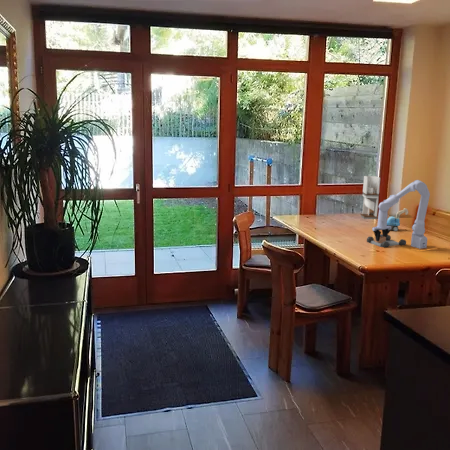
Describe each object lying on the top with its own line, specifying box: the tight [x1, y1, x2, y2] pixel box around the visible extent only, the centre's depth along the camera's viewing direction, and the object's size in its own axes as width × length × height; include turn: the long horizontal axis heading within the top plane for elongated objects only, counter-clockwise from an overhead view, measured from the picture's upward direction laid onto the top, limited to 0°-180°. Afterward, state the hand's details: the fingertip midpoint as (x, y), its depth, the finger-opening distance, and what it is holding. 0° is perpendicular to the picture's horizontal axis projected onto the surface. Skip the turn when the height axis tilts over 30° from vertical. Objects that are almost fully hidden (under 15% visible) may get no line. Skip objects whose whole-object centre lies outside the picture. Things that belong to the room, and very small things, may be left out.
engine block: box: [374, 233, 386, 243], centre depth 322 cm, size 5×4×6 cm
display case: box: [360, 175, 381, 220], centre depth 413 cm, size 11×11×35 cm
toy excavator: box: [387, 207, 409, 232], centre depth 368 cm, size 9×17×17 cm, turn 78°
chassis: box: [366, 234, 407, 249], centre depth 324 cm, size 16×20×5 cm
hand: (380, 240), depth 322 cm, fingers open, 5 cm apart
